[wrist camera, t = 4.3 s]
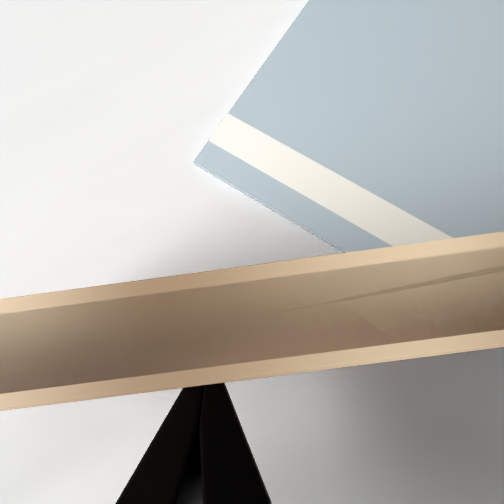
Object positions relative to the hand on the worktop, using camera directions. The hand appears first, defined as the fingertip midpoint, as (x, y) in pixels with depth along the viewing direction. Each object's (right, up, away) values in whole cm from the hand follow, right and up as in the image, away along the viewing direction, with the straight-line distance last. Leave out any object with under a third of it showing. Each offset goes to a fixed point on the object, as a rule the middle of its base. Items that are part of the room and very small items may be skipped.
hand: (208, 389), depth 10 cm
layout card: (+10, +10, +9) cm, 17 cm away
